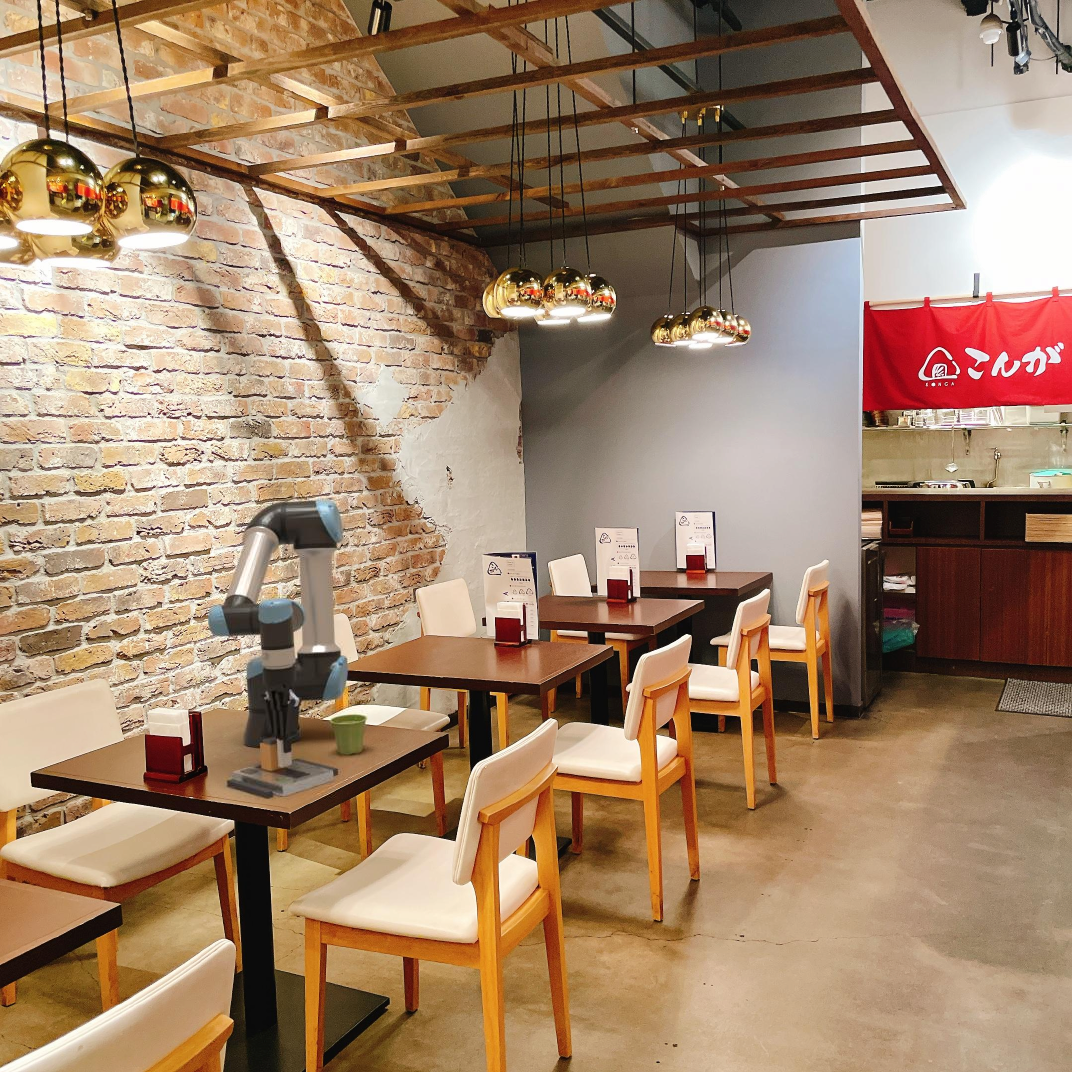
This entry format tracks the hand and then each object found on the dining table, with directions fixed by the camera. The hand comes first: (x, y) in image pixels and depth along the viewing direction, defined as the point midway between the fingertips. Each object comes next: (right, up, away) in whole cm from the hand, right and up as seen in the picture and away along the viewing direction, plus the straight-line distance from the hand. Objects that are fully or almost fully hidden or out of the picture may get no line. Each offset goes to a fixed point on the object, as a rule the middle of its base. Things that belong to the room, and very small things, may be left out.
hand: (285, 765), depth 234 cm
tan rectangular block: (-3, -1, +3) cm, 5 cm away
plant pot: (+11, -2, +24) cm, 26 cm away
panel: (-1, -4, +1) cm, 4 cm away
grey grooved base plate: (-1, -4, +1) cm, 4 cm away
